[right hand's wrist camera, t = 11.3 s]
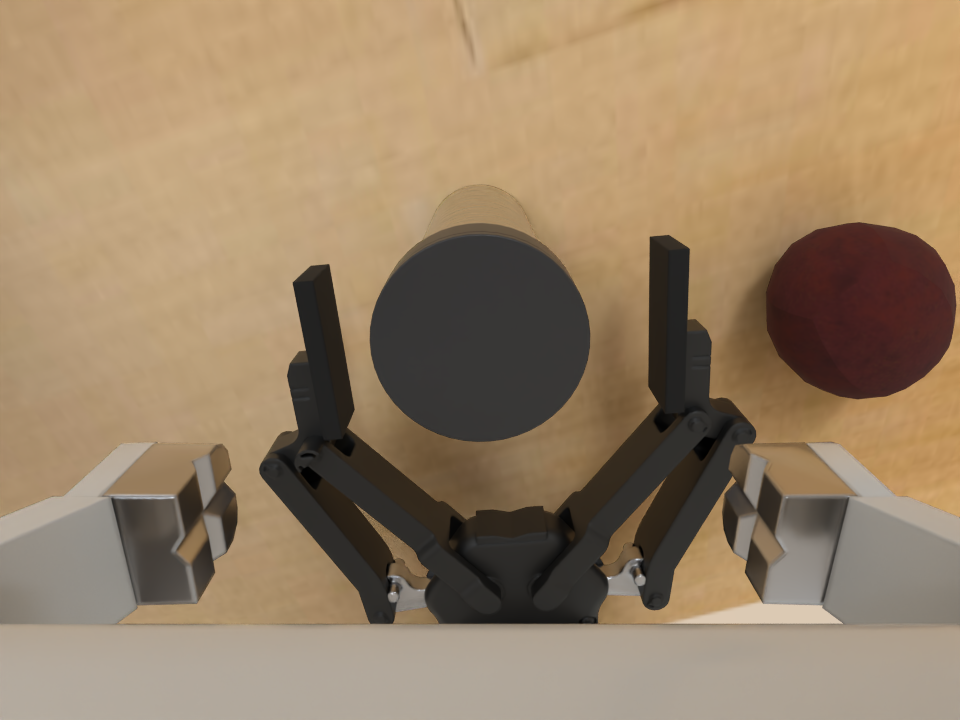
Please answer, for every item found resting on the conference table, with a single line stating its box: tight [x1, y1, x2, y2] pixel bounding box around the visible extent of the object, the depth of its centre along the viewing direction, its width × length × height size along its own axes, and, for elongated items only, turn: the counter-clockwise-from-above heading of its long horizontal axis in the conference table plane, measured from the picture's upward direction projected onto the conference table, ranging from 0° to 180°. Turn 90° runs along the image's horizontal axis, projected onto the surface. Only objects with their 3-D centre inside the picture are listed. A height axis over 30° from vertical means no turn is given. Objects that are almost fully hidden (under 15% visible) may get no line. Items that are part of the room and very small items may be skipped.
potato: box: [766, 222, 956, 399], centre depth 28 cm, size 7×8×7 cm
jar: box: [423, 185, 537, 240], centre depth 24 cm, size 5×5×15 cm
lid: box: [370, 223, 590, 442], centre depth 17 cm, size 6×6×2 cm
